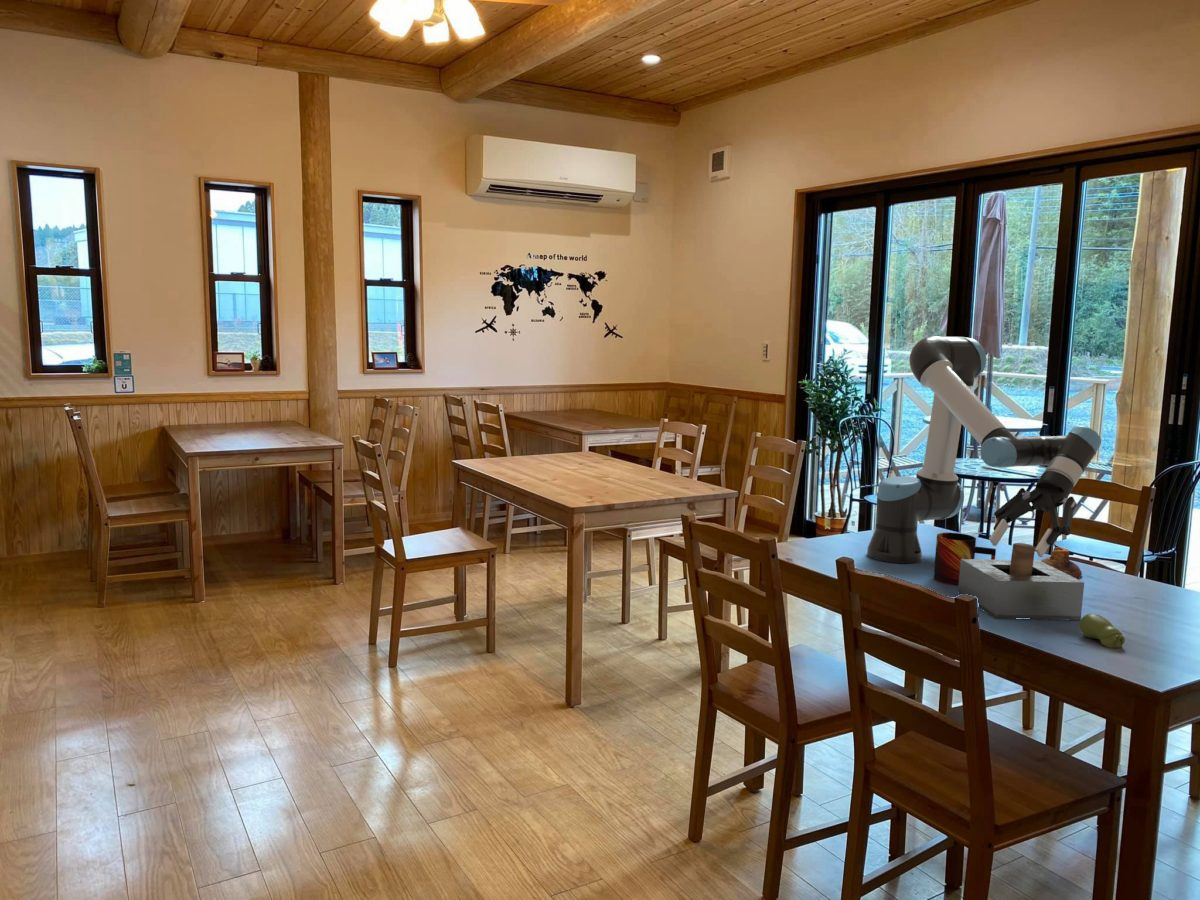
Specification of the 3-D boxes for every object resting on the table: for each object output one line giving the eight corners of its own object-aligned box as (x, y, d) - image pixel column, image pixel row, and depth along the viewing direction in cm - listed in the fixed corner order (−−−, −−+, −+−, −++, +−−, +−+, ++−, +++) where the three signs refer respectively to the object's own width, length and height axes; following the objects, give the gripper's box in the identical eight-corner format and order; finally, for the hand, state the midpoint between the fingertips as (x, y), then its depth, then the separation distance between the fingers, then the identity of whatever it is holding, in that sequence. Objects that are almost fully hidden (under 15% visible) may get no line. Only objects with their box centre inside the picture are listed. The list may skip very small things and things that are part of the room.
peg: (1002, 597, 217) (1009, 542, 214) (1021, 597, 217) (1028, 543, 214) (1011, 605, 213) (1019, 549, 209) (1031, 605, 213) (1039, 549, 210)
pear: (1097, 609, 196) (1134, 631, 186) (1091, 630, 197) (1128, 653, 188) (1076, 610, 194) (1112, 632, 185) (1071, 632, 196) (1106, 655, 186)
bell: (1072, 582, 240) (1074, 555, 239) (1026, 572, 249) (1029, 547, 248) (1088, 575, 248) (1091, 549, 247) (1044, 566, 257) (1046, 541, 256)
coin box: (957, 593, 225) (960, 558, 223) (1035, 595, 225) (1039, 560, 224) (995, 618, 205) (998, 580, 204) (1080, 620, 205) (1084, 582, 204)
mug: (994, 586, 232) (998, 541, 231) (941, 585, 232) (945, 540, 231) (978, 576, 242) (982, 533, 241) (928, 575, 242) (931, 532, 240)
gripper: (1112, 497, 210) (1068, 569, 203) (1019, 482, 230) (977, 547, 223) (1102, 476, 206) (1056, 548, 200) (1009, 463, 226) (965, 528, 220)
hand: (1014, 548), depth 212 cm, fingers open, 11 cm apart
